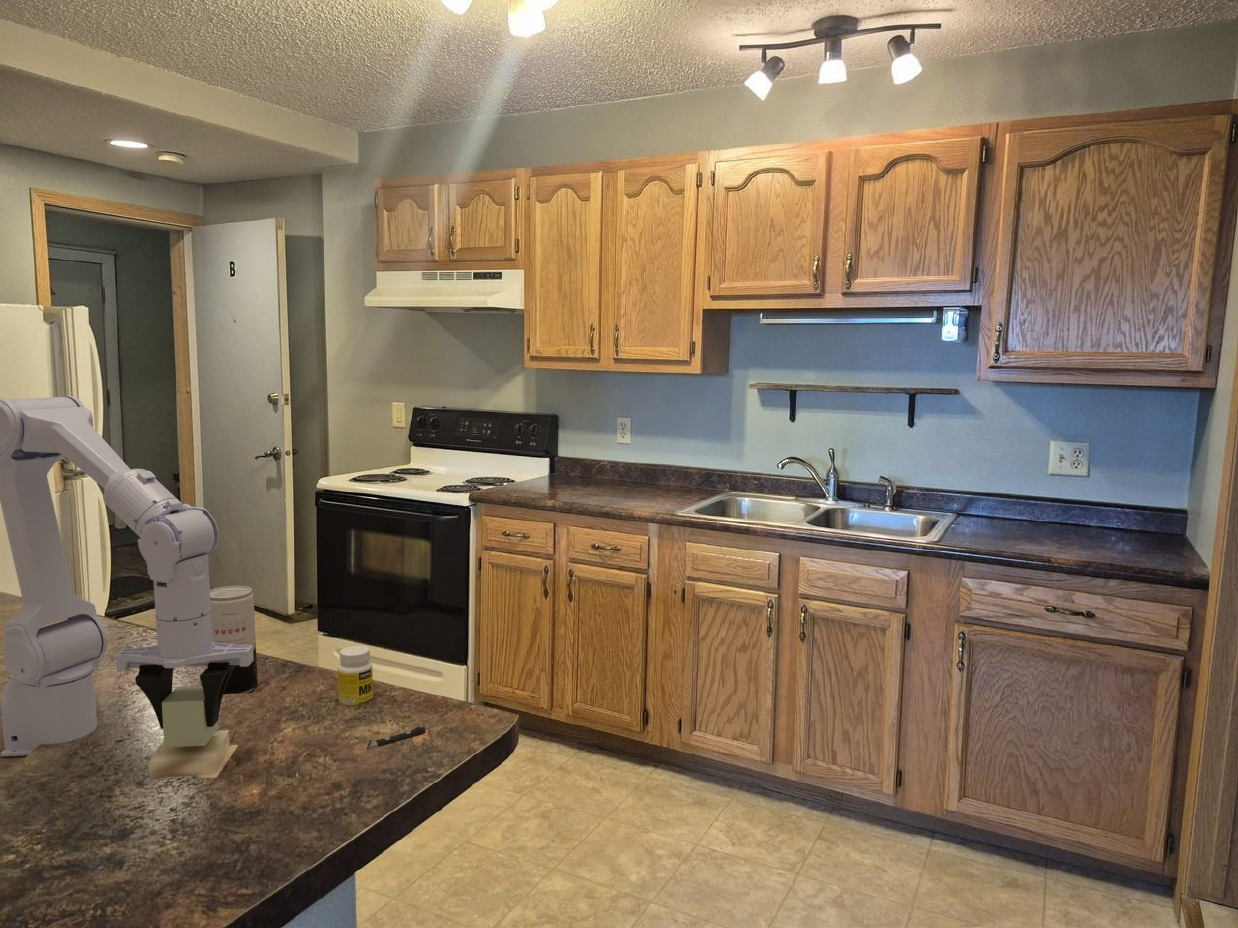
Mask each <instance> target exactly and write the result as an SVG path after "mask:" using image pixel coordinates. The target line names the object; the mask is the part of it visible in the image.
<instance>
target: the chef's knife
mask: <svg viewBox="0 0 1238 928" xmlns="http://www.w3.org/2000/svg"><path fill="white" fill-rule="evenodd" d="M426 730H427V729H426V727H424V726H417V727H414V728H413V729H410V730H408V731H405V732H402V733H399V734H396V735H391V736H388V737H384V738H383V737H382V738H381V739H376V740H372V739H369V740H368V743H367V747H366V751H370V750H372V749H376V748H378V747H383V746H386V745H389V744H392V743H395V742H396V743H397V742H399V741H402V740H405V739H409V738H413V737H416V736H420V735H422V734H424V733H426Z"/></svg>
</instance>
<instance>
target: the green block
mask: <svg viewBox="0 0 1238 928" xmlns="http://www.w3.org/2000/svg"><path fill="white" fill-rule="evenodd" d="M162 714H163V729H162V730H163V740H164V747H184V746H205V745H206V744H207V743H208V741H209V740H210V739H211V737H212V736H213V735H214V734H215V732H216V731H219V720H218V721H217V722H216V724H215V725H214V726H213V727H207V724H206V718H205V697H204V692H203V687H202V685H200V686H196V685H195V686H177V687H175V688H174V690H172V693H171V694H170V695H169V696H168V697H167V698H166V699H165V700H164V701H163V702H162Z"/></svg>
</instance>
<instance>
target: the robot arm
mask: <svg viewBox="0 0 1238 928" xmlns="http://www.w3.org/2000/svg"><path fill="white" fill-rule="evenodd" d="M64 458H66V460H68V461H70V462H71V463H72V464H73V465H74V466H75V467H77V468H78V469H80V470H81V471H82V472H84V474H86V475H87V476H88V477H89V478H91V479H92V480H93V481H94V482H96V483H97V484H98V485H99V486H101V487H102V488H103V489H104V491H103V495H102V496H103V497H102V499H103V503H104V504H105V505H106V506H107V507H108V508H109V509H110V510H111V512H113V514H115V515H116V516H117V517H118V518H119V519H120V520H121V521H123V523H124V524H125V525H126V526H128V527H129V528H130V529H131V530H132V532H134V533H135V534H136V536H138V537H139V538H138V539H137V544H138V545H137V546H138V549H139V552H140V554H141V556H142V558H143V559H144V561H145V562H146V566H147V575H148V576H149V578H150V580H151V581H153V594H154V596H153V597H154V608H155V609H154V610H155V611H154V612H155V625H156V627H155V628H156V642H157V645H151V646H145V647H136V648H135V647H133V648H123V649H122V650H120V651H118V653H117V654H116V655H115V663H116V664H115V665H116V671H119V672H120V671H127V670H129V669H138V673H137V675H136V676H135V677H134V680H135V684H136V685H137V687H138V688H139V689H140V690H141V691H142V692H143V693H144V695H145V697H147V700H148V701H149V702H150V703H149V704H151V707H152V708H153V711H154V713H155V716H156V718H157V721H158V724H159V728H160V730H163V714H162V702H163V701H164V700H165V699H166V698H167V697H168V696H169V695H170V694H171V693H172V692H173V682H174V680H173V679H174V669H178V668H183V667H203V666H205V667H206V666H207V668H205V669H204V670H203V671H202V672H201V673H200V674H199V680H200V683H201V686H202V687H203V692H204V697H205V718H206V724H207V727H213V726H214V725H215V724H216V722H217V721H218V722H219V717H220V710H221V706H222V705H221V704H222V701H223V697H224V695H225V694H224V691H225V688H226V685H227V682H228V680H229V677H230V675H231V673H232V671H233V669H234V667H235V665H240V666H241V667H245V666H249V665H250V664H251V663H252V662H253V660H254V658H253V645H234V644H225V643H215V642H212V624H211V602H210V590H211V588H210V587H211V583H210V568H209V566H210V565H209V555H210V554H211V553H213V552H214V551H215V550H216V548H217V546H218V543H219V541H220V540H219V538H220V533H219V532H220V531H219V527H218V525H217V522H216V520H215V519H214V517H213V516H212V515H211V514H210V511H208V509H206V508H204V507H201V506H191V505H190V504H189V503H183V502H181V501H180V500H179V499H178V498H177V497H176V496H175V495H174V494H173V493H172V492H170V490H168V489H167V488H166V487H165V486H164V485H163V484H162V483H161V482H160V481H158V480H157V479H156V478H157V477H156V475H155V474H154V473H153V472H152V471H150V470H147V469H144V468H133V469H131V468H130V467H129V466H128V465H127V464H126V463H125V461H123V459H122V458H121V457H120V456H119V454H117V453H116V452H115V450H114V449H113V448H112V447H111V446H110V445H109V444H108V443H107V441H106V440H105V439H104V438H103V437H102V436H101V435H100V433H98V431H97V430H96V429H95V428H94V418H93V412H92V411H91V410H90V409H89V408H88V407H85V405H84V404H83V402H82V401H81V400H80V399H79V398H77V397H76V396H74V395H71V394H70V395H69V394H68V395H61V396H57V397H56V396H52V397H50V396H49V397H33V398H12V399H10V398H9V399H6V398H0V507H1V513H2V516H3V521H4V524H5V528H6V534H7V537H8V542H9V547H10V550H11V556H12V559H13V563H14V568H15V573H16V576H17V581H18V586H19V589H20V590H19V591H20V594H21V595H20V596H21V598H22V603H23V605H22V607H21V608H20V609H19V610H18V611H17V612H16V613H15V614H14V615H13V616H12V618H11V619H9V620H8V621H7V623H6V624H5V625H4V627H3V631H4V637H5V640H4V641H5V648H4V653H3V655H4V656H3V657H4V664H5V667H6V668H7V671H8V672H9V674H10V675H11V676H12V678H11V679H10V680H9V681H8V682H7V683H6V685H5V687H4V688H3V692H2V696H1V700H0V701H1V702H0V711H1V724H2V732H3V734H2V735H3V745H4V749H3V750H2V751H1V752H0V755H1V757H17V756H19V757H20V756H29V755H30V754H31V753H33V751H35V750H36V749H37V748H38V747H39V746H40V745H57V744H58V745H59V744H64V743H68V742H71V741H75V740H78V739H81V738H83V737H86V736H88V735H90V734H91V733H92V732H94V731H95V730H96V729H97V727H98V717H97V703H96V702H97V701H96V691H95V689H96V687H95V677H94V670H95V669H96V668H99V666H100V665H99V659H101V658H102V657H103V656H104V655H105V653H106V651H107V649H108V643H109V642H108V639H109V638H108V633H107V629H106V627H105V626H104V624H103V623H102V622H101V620H100V618H99V616H98V614H97V610H96V605H95V604H94V603H93V602H90V601H88V600H86V599H84V598H81V597H80V596H77V595H76V594H74V590H73V587H72V581H71V576H70V572H69V568H68V564H67V560H66V554H65V551H64V546H63V542H62V537H61V533H60V528H59V523H58V519H57V515H56V510H55V505H54V501H53V496H52V493H51V488H50V484H49V480H48V474H49V472H50V470H51V469H52V468H53V467H54V465H55V464H56V463H58V462H60V461H62V460H63V459H64ZM65 619H66V620H65ZM59 621H60V622H59ZM49 624H50V625H49ZM46 625H47V626H46Z"/></svg>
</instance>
